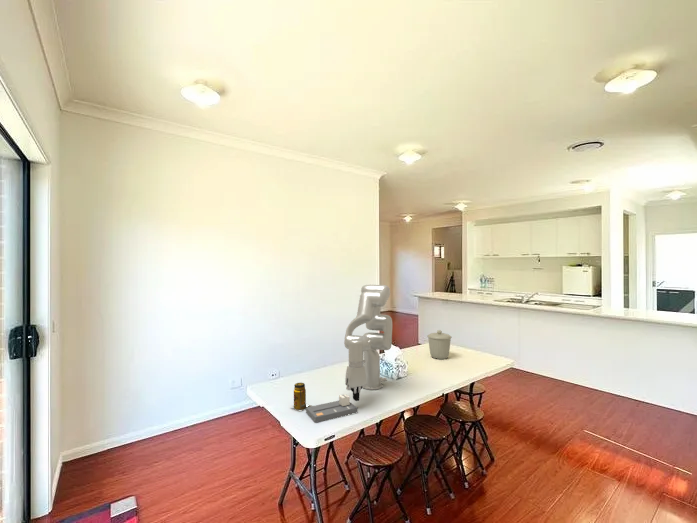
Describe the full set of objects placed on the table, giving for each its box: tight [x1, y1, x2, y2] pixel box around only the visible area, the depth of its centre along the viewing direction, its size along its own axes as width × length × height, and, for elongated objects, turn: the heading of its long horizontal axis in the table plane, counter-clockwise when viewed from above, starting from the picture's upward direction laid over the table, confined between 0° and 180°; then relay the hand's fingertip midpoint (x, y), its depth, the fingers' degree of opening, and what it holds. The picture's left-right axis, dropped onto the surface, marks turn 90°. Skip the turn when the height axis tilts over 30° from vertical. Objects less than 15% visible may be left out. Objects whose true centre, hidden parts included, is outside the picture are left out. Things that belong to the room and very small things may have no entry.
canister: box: [427, 329, 452, 360], centre depth 260 cm, size 18×18×21 cm
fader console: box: [305, 400, 358, 424], centre depth 164 cm, size 22×12×3 cm, turn 118°
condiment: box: [293, 382, 312, 412], centre depth 171 cm, size 7×8×12 cm
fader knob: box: [338, 394, 351, 406], centre depth 167 cm, size 4×4×4 cm
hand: (356, 399), depth 171 cm, fingers closed
